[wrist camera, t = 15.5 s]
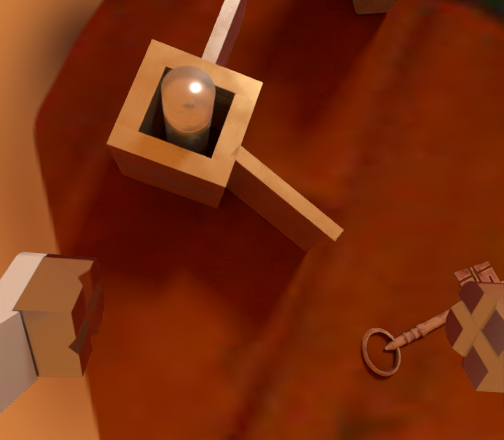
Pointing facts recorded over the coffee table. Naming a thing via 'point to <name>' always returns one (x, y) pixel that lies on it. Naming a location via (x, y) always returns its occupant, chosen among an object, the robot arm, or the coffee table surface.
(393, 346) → the key
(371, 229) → the coffee table surface
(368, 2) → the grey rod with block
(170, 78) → the rounded cylinder
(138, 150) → the cream winged socket block
